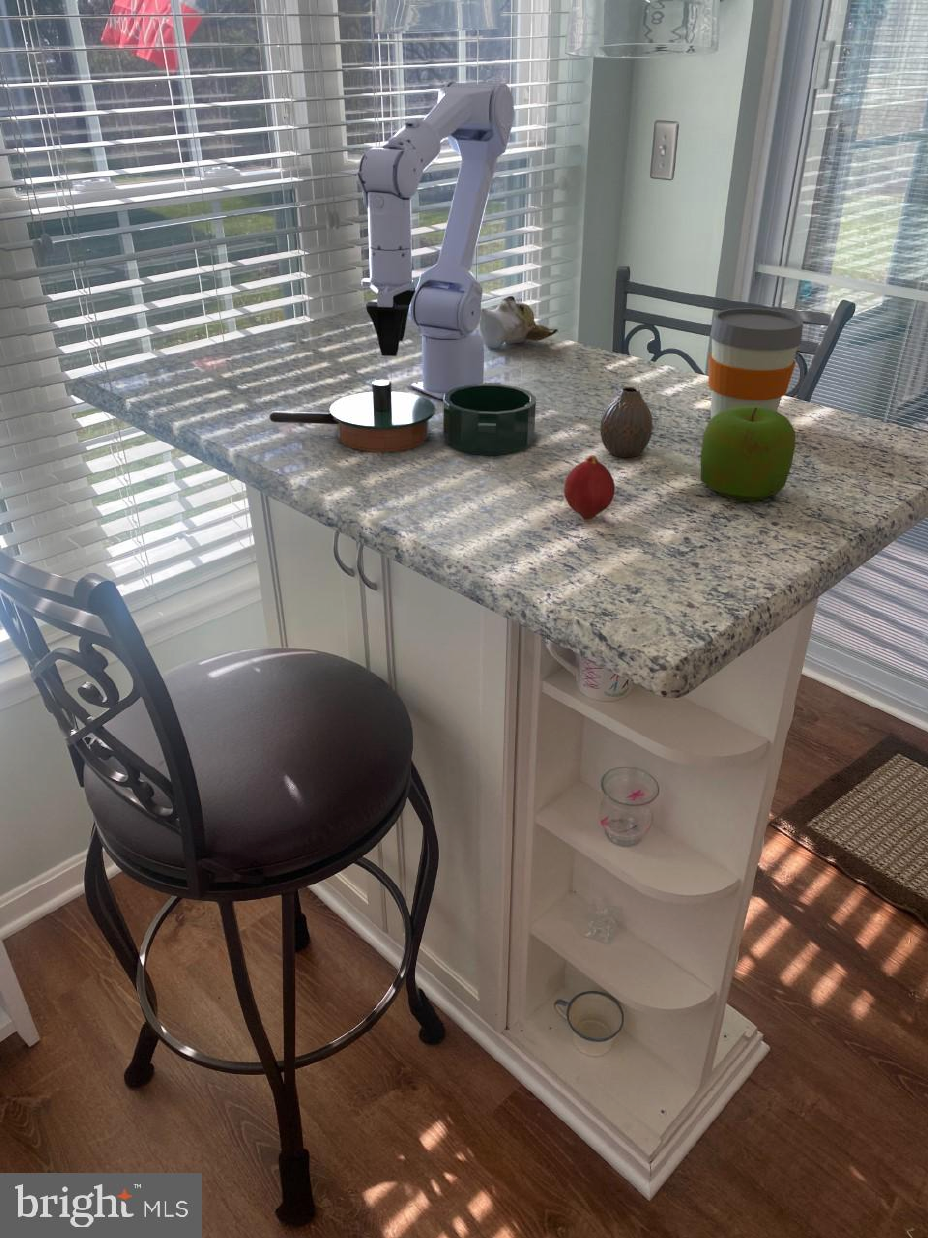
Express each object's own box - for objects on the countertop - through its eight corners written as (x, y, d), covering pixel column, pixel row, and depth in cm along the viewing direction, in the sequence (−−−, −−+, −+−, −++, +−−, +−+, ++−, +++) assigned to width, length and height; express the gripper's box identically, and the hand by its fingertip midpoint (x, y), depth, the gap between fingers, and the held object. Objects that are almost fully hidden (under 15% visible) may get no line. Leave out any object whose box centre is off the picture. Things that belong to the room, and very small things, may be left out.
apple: (712, 467, 130) (724, 387, 124) (794, 485, 125) (811, 402, 120) (683, 497, 122) (695, 412, 116) (770, 516, 117) (787, 429, 111)
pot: (533, 418, 146) (535, 379, 142) (533, 464, 130) (535, 421, 127) (448, 415, 146) (449, 376, 143) (438, 461, 131) (438, 418, 128)
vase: (617, 465, 130) (624, 400, 126) (588, 447, 136) (593, 385, 131) (659, 456, 133) (667, 393, 129) (629, 439, 138) (636, 378, 134)
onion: (558, 508, 118) (562, 445, 114) (605, 507, 119) (611, 444, 115) (567, 529, 113) (571, 464, 109) (616, 528, 114) (622, 463, 110)
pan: (432, 421, 144) (432, 398, 142) (423, 453, 133) (423, 428, 131) (346, 418, 145) (345, 395, 143) (331, 450, 134) (329, 425, 132)
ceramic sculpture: (462, 293, 175) (523, 286, 184) (459, 342, 179) (519, 333, 188) (502, 305, 168) (564, 298, 177) (498, 356, 172) (558, 346, 181)
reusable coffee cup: (804, 427, 144) (824, 323, 136) (741, 442, 138) (758, 334, 130) (742, 402, 153) (758, 303, 145) (680, 415, 147) (694, 313, 139)
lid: (439, 400, 143) (439, 368, 141) (430, 435, 131) (429, 401, 128) (339, 397, 144) (338, 365, 141) (321, 432, 131) (318, 397, 129)
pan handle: (344, 422, 139) (344, 412, 138) (343, 425, 138) (342, 415, 137) (271, 419, 139) (270, 409, 139) (268, 423, 138) (267, 413, 137)
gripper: (368, 236, 139) (371, 333, 146) (352, 256, 127) (356, 360, 134) (418, 237, 139) (419, 334, 146) (407, 257, 126) (408, 362, 133)
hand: (392, 347), depth 140 cm, fingers open, 7 cm apart
